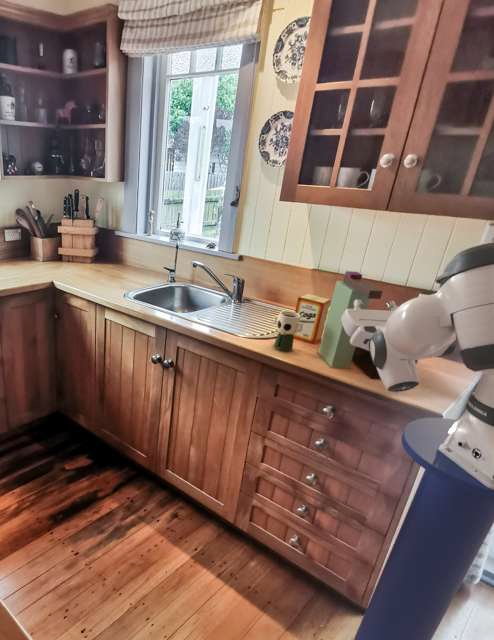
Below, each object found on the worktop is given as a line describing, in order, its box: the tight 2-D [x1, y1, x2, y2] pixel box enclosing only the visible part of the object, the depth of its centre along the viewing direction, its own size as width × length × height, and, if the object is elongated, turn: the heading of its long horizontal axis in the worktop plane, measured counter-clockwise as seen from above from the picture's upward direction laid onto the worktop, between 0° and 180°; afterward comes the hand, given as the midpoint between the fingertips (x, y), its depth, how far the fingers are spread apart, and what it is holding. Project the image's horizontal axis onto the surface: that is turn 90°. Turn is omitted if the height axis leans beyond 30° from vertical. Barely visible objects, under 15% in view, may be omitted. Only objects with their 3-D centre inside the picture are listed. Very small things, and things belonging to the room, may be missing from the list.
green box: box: [318, 280, 370, 369], centre depth 153 cm, size 12×6×26 cm, turn 178°
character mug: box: [273, 310, 303, 352], centre depth 163 cm, size 11×7×13 cm, turn 40°
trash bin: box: [351, 347, 419, 380], centre depth 155 cm, size 22×13×9 cm, turn 178°
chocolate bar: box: [342, 270, 383, 300], centre depth 142 cm, size 18×4×4 cm, turn 178°
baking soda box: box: [293, 293, 332, 345], centre depth 173 cm, size 10×6×16 cm
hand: (373, 301), depth 134 cm, fingers open, 8 cm apart
